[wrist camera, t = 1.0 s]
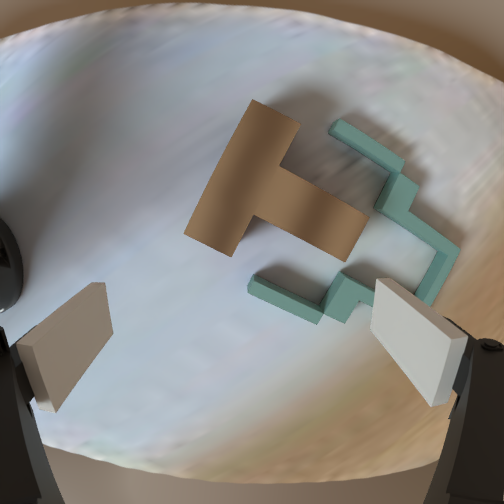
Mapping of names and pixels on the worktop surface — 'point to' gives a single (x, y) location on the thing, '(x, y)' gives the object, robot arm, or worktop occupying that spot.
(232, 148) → the t block
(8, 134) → the worktop surface
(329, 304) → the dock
